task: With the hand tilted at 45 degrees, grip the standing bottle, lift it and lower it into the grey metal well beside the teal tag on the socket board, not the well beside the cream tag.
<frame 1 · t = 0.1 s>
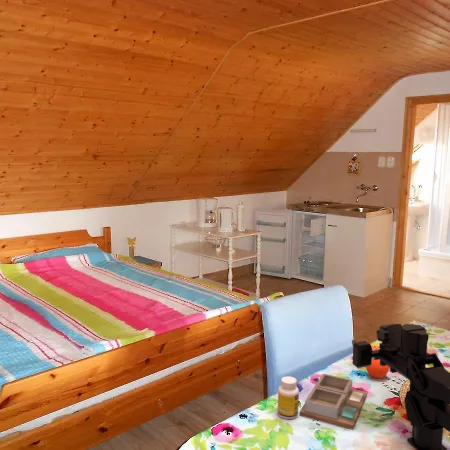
hand: (366, 339, 134), 17 cm above the table, tool horizontal, fingers open, 9 cm apart
clementine: (375, 376, 148), on the table
supplement bottle: (287, 415, 126), on the table
socket board: (329, 404, 131), on the table
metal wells: (329, 395, 131), point 3 cm above the table
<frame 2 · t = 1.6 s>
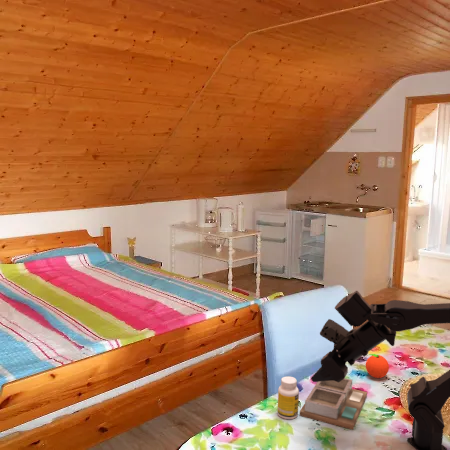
hand: (317, 372, 121), 14 cm above the table, tool tilted 45°, fingers open, 9 cm apart
nothing on the table moved.
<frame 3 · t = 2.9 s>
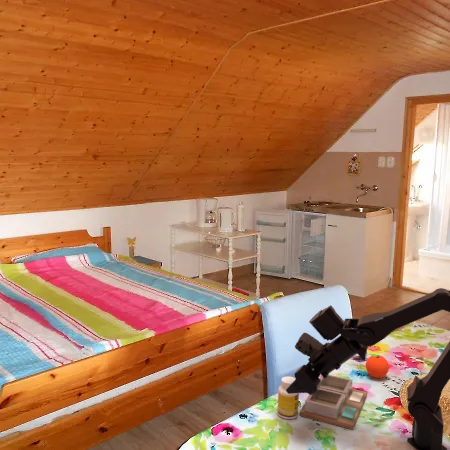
hand: (292, 384, 124), 9 cm above the table, tool tilted 45°, fingers open, 9 cm apart
nothing on the table moved.
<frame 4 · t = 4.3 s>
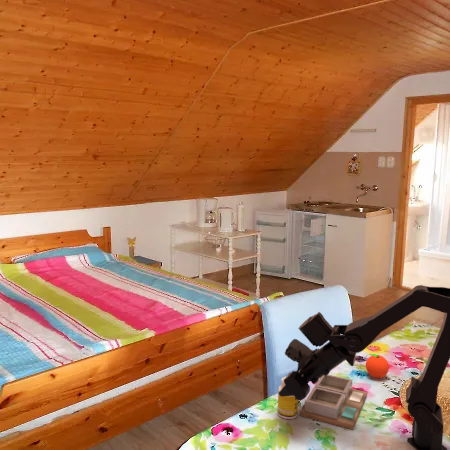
hand: (283, 389, 126), 7 cm above the table, tool tilted 45°, fingers closed on supplement bottle, 5 cm apart
supplement bottle: (287, 414, 126), on the table, touching gripper
everything else where it was.
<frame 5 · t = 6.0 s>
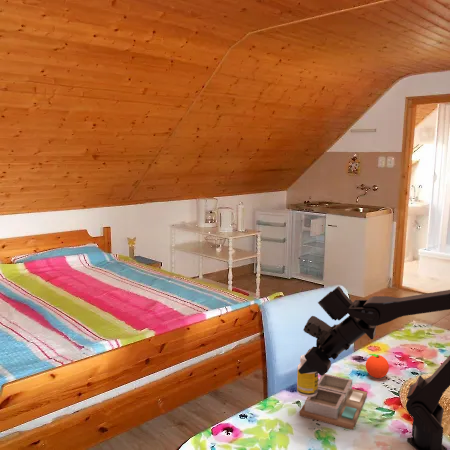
hand: (302, 367, 125), 13 cm above the table, tool tilted 45°, fingers closed on supplement bottle, 5 cm apart
supplement bottle: (307, 393, 125), point 6 cm above the table, touching gripper
everything else where it was.
when the fingers open (9 cm above the table, at t = 7.9 s): supplement bottle stays where it is, resting on socket board.
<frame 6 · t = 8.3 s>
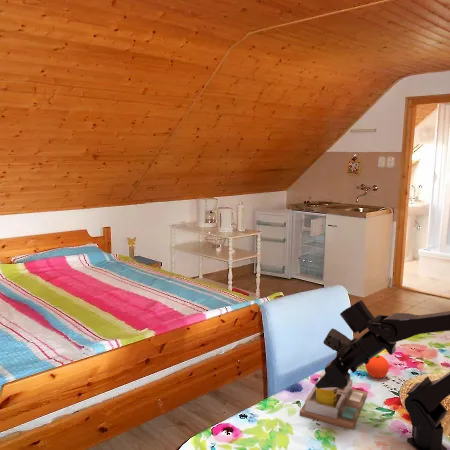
hand: (321, 379, 127), 9 cm above the table, tool tilted 45°, fingers open, 9 cm apart
supplement bottle: (325, 408, 127), point 1 cm above the table, touching socket board
everything else where it was.
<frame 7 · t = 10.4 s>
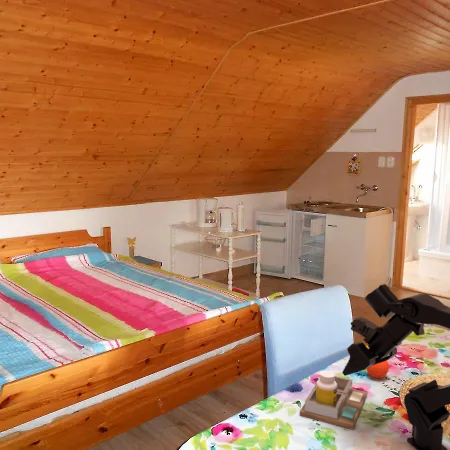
hand: (351, 370, 123), 13 cm above the table, tool tilted 40°, fingers open, 9 cm apart
nothing on the table moved.
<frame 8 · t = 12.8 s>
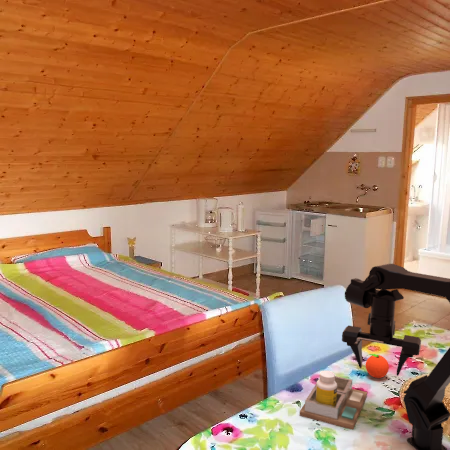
hand: (378, 371, 123), 13 cm above the table, tool pointing down, fingers open, 9 cm apart
nothing on the table moved.
at the end: supplement bottle 0.2 cm from the target spot, point 1.0 cm above the table; supplement bottle tilted 0°; the gripper is holding nothing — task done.
